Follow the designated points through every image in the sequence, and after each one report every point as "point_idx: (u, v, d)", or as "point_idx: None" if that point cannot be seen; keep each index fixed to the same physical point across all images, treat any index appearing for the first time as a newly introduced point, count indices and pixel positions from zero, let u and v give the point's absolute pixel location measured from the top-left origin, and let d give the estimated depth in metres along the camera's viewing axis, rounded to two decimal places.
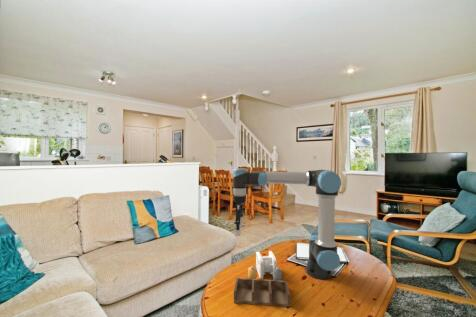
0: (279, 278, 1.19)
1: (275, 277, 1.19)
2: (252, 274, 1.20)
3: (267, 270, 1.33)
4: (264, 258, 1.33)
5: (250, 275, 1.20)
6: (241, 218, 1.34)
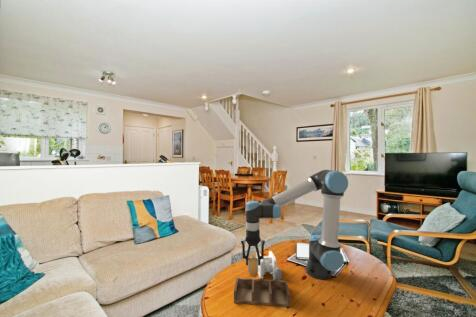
0: (279, 278, 1.19)
1: (275, 277, 1.19)
2: (253, 264, 1.20)
3: (267, 270, 1.33)
4: (264, 258, 1.33)
5: (251, 265, 1.20)
6: None
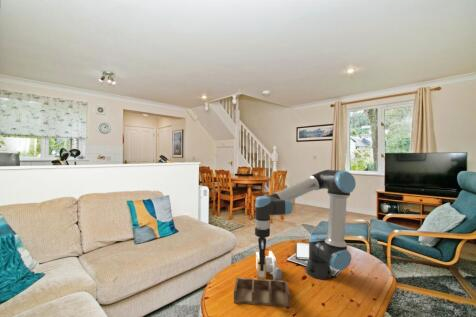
0: (279, 278, 1.19)
1: (275, 277, 1.19)
2: None
3: (267, 270, 1.33)
4: None
5: (265, 266, 1.09)
6: None
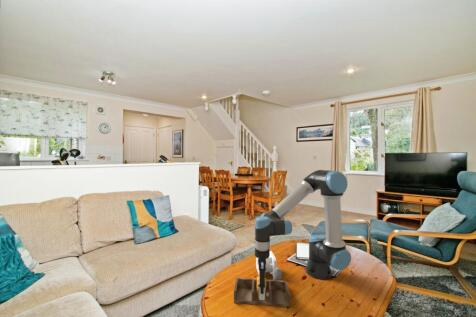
0: (279, 278, 1.19)
1: (275, 277, 1.19)
2: None
3: (267, 270, 1.33)
4: None
5: (265, 285, 1.09)
6: None
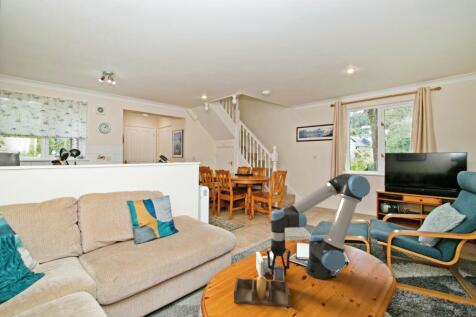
0: (280, 275, 1.19)
1: (276, 275, 1.19)
2: None
3: (267, 270, 1.33)
4: (264, 258, 1.33)
5: (265, 284, 1.09)
6: None
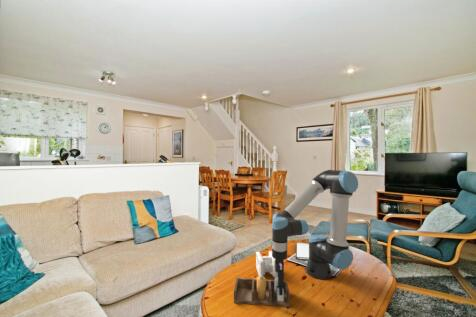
0: None
1: None
2: (265, 282, 1.10)
3: (267, 270, 1.33)
4: (264, 258, 1.33)
5: (265, 285, 1.09)
6: None
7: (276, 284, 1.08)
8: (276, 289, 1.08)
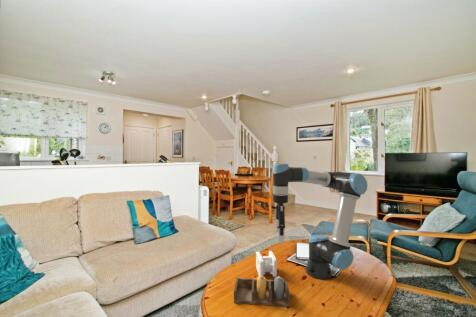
0: None
1: (283, 287, 1.08)
2: None
3: (267, 270, 1.33)
4: (264, 258, 1.33)
5: (265, 285, 1.09)
6: None
7: (276, 284, 1.08)
8: (276, 289, 1.08)
